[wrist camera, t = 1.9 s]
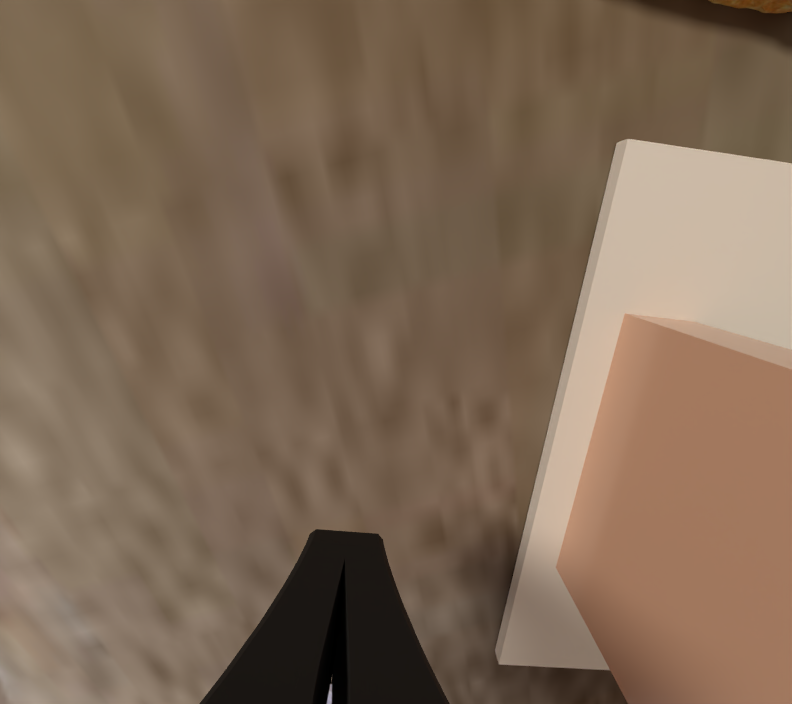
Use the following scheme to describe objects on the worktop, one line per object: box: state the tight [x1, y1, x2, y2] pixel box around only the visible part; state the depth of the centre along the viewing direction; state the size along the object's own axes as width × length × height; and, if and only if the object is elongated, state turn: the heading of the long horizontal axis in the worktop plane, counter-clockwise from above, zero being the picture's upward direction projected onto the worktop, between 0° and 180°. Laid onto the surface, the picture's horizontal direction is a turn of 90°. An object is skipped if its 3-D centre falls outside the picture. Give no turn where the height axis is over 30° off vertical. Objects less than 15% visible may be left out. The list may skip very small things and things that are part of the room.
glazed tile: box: [556, 313, 792, 704], centre depth 11 cm, size 10×3×9 cm, turn 173°
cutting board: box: [495, 139, 792, 670], centre depth 16 cm, size 20×16×1 cm
